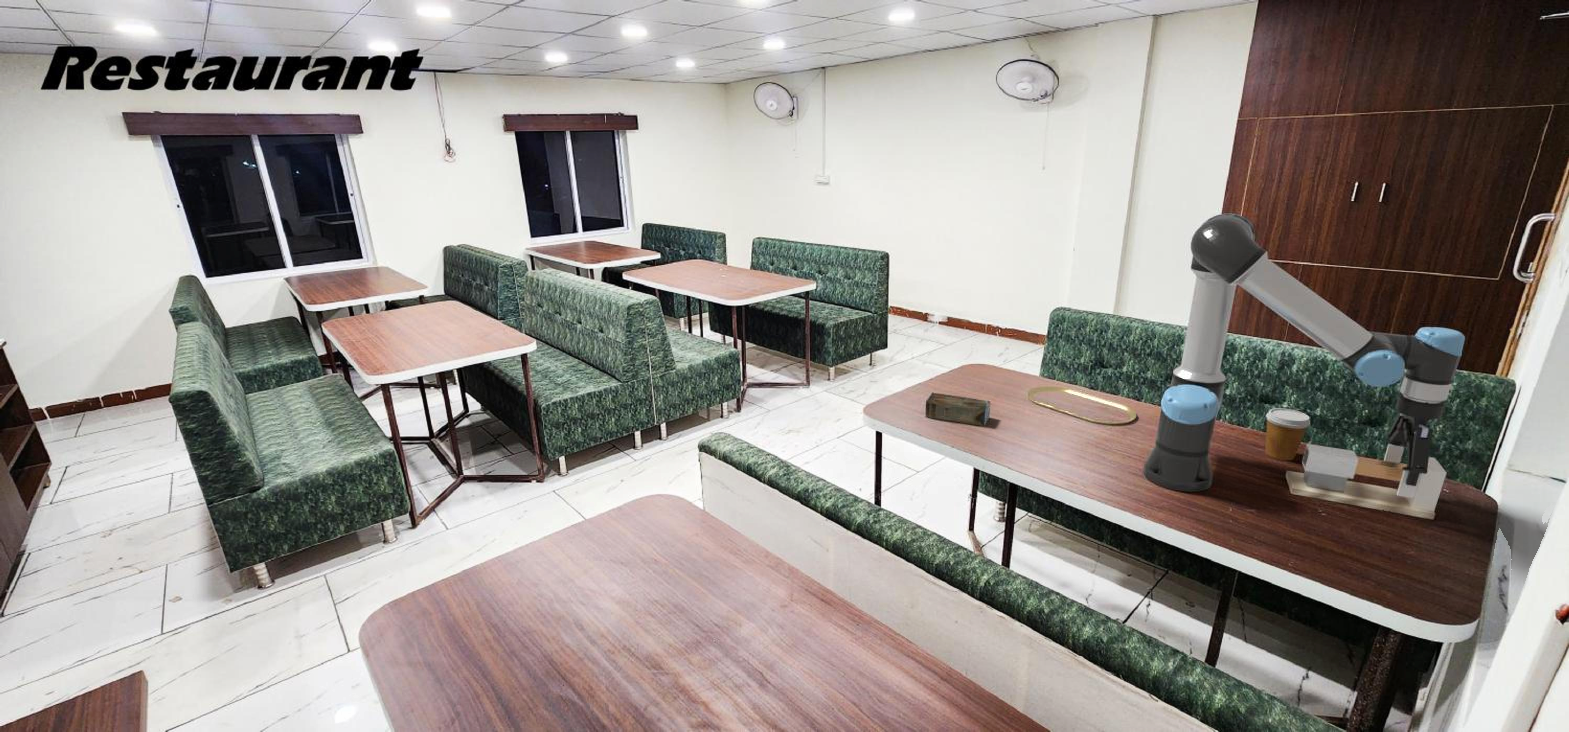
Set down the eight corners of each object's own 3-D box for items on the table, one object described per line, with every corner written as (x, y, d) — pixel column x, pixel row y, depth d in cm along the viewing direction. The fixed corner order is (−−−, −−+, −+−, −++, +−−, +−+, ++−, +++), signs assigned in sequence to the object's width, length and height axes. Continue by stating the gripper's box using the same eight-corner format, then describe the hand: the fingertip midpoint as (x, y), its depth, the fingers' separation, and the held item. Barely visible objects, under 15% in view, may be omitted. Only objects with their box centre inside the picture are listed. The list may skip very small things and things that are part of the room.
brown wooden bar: (1338, 471, 153) (1341, 459, 152) (1335, 465, 156) (1338, 453, 155) (1425, 485, 146) (1429, 472, 145) (1421, 479, 148) (1425, 466, 147)
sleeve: (1301, 485, 157) (1309, 451, 154) (1298, 476, 161) (1306, 443, 158) (1348, 493, 153) (1358, 459, 150) (1344, 484, 157) (1353, 450, 154)
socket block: (1411, 507, 146) (1423, 469, 143) (1402, 491, 153) (1413, 454, 150) (1433, 511, 144) (1446, 472, 141) (1423, 495, 151) (1434, 457, 148)
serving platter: (1047, 386, 231) (1048, 382, 230) (1147, 416, 203) (1148, 411, 203) (1015, 399, 221) (1015, 395, 220) (1115, 432, 193) (1116, 427, 193)
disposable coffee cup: (1309, 464, 170) (1319, 422, 166) (1268, 462, 172) (1277, 420, 168) (1290, 448, 179) (1299, 408, 175) (1251, 446, 180) (1260, 406, 177)
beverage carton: (985, 427, 199) (986, 407, 197) (924, 418, 208) (924, 399, 206) (990, 417, 206) (991, 398, 204) (930, 409, 214) (931, 390, 212)
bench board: (1291, 493, 156) (1292, 488, 156) (1285, 475, 164) (1287, 470, 164) (1433, 519, 144) (1435, 513, 144) (1419, 498, 152) (1421, 493, 152)
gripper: (1466, 420, 131) (1435, 512, 137) (1427, 382, 151) (1403, 463, 158) (1416, 414, 134) (1389, 504, 141) (1385, 377, 155) (1363, 457, 161)
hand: (1396, 482), depth 149 cm, fingers open, 13 cm apart
